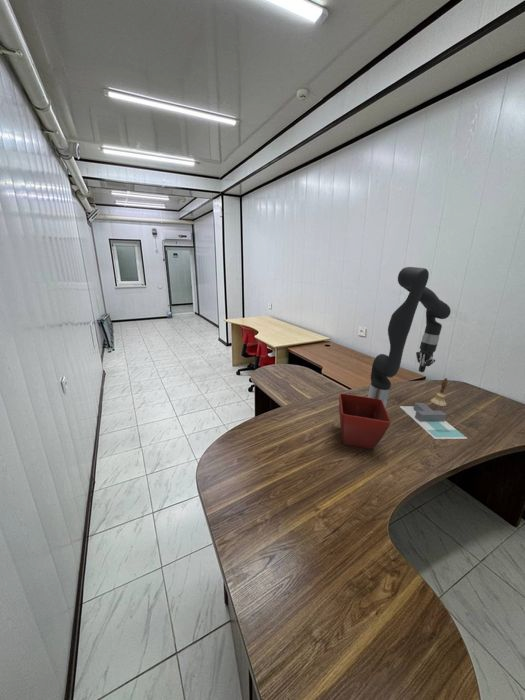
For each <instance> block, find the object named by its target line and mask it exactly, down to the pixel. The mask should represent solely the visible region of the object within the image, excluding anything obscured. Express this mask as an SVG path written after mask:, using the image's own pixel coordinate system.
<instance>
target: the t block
mask: <svg viewBox="0 0 525 700" xmlns="http://www.w3.org/2000/svg"><path fill="white" fill-rule="evenodd" d="M414 410H415V411H416V415H415V418H416V419H417V420H419V421H420V422H428V421H446V418H447V413H445V412H443V410H433V409H432V408H431V407H430V406H428V405H427V404H425V403H424V402H415V403H414Z"/></svg>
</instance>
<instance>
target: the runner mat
mask: <svg viewBox="0 0 525 700" xmlns="http://www.w3.org/2000/svg"><path fill="white" fill-rule="evenodd" d="M399 408H401V410H403V411H404V412H405V413H406V414H407V415H408V416H409V417H410V418H411V419H412V420H414V421H415V422H416V423H417V424H418V425H419V426H420V427H421V428H422V429H423V430H424V431H426V432H427V433H428V434H429V435H430V436H431V437H432V438H433V439H435V440H442V439H443V440H448V439H449V440H454V439H456V440H457V439H462V440H463V439H464V440H465V439H468V437H466V436H465V437H434V436H433V435H432V434H431V433H430V432H429V431H428V430H435V429H434V428H433V427H432V426H430V425H429V424H428V423H427V422H420V421H419V420H417V419H416V418H415V415H416V411H415V410H414V406H413V405H411V406H410V405H408V406H406V405H403V406H402V405H401V406H399ZM438 422H440V423H441V424H442V425H443V426H444V427H446V428H447V429H448V430H457V429H456V428H455V427H454V426H453V425H451V424H450V423H449V422H448V421H446V420H445V421H438Z"/></svg>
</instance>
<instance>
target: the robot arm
mask: <svg viewBox="0 0 525 700" xmlns="http://www.w3.org/2000/svg"><path fill="white" fill-rule="evenodd" d="M429 275H430V273H429V270H428V269H427V268H425V267H414V266H405V267H403V268H402V269H401V270H400V271H399V273H398V275H397V283H398V285H399V286H400V287H401V288H403V289H404V290H406V291H407V292H409V293H408V295H407V297H406V299H405V301H404V302H403V303H401V304H400V306H399V307H397V309H395V311H394V312H392V315H390V316H391V317H390V319H389V323H388V326H387V334H388V335H387V336H388V340H389V345H390V346H389V353H388V355H387V354H383V353H380V354H378V355H377V356H376V357H375V358H374V359H373V362H372V365H371V366H372V367H371V372H370V386H369V390H368V395H367V397H368V398H375V399H380V400H382V401H383V404H384V406H385V409H387V408H386V407H387V404H388V399H389V395H390V390H391V387H392V383H391V381H390V380H389V378H394V376H396V375H397V374H398V372H399V370H400V367H401V363H402V359H403V358H402V357H403V353H404V350H405V347H406V346H405V345H406V342H407V339H408V336H409V333H410V331H411V327H412V324H413V321H414V317H415V314H416V311H417V308H418V306H419V303H421V305H423V307H424V309H426V310H425V320H426V321H425V324H426V326H425V329H424V331H423V335H422V337H421V342H420V345H419V351H416V352H415V354H416V360H417V363H419V367H418V372H420V373H425V370H426V367H430V366H431V365H433V364H434V363H435V362H436V359H435V358H434V353H435V352H436V351H437V347H438V343H439V340H440V334H441V331H442V328H443V327H442V324H441V323H440V322H438V321H437V320H436V319H440V320H445V319H448V318H449V317H450V315H451V307H450V306H449V305H448V304H447V303H445V302H444V301H443V300H441V299H440V298H439V297H438V296H437V294H436V293H435V292H434V291H433V290H432V289H430V288H428V287H426V286H427V284H428V281H429Z"/></svg>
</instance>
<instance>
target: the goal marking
mask: <svg viewBox="0 0 525 700" xmlns="http://www.w3.org/2000/svg"><path fill="white" fill-rule="evenodd" d="M427 423H428V424H429V425H430V426H432V427H433V428H434V429H435V430H428V431H429V432H430V433H431V434H432V435H433V436H434V437H466V436H465V435H464V434H463V433H461V432H460V431H459V430H458V429H456V430H448V429H447V428H446V427H444V426H443V425H442V424H441V423H440V422H438V421H428V422H427Z"/></svg>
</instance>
